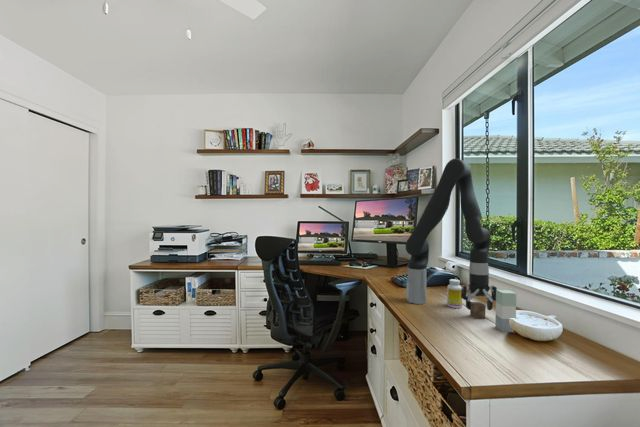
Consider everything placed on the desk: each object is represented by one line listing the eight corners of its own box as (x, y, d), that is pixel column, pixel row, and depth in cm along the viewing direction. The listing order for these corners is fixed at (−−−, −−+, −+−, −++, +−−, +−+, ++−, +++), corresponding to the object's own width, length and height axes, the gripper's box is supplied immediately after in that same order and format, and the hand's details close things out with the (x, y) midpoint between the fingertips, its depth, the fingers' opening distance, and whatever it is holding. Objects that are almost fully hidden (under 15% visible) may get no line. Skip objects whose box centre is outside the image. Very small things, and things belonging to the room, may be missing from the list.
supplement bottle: (463, 309, 139) (464, 282, 138) (448, 308, 140) (449, 281, 140) (459, 304, 145) (460, 279, 145) (445, 303, 146) (446, 278, 146)
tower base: (501, 331, 112) (502, 318, 112) (495, 326, 117) (495, 314, 117) (515, 332, 112) (515, 319, 112) (508, 327, 117) (508, 314, 117)
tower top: (502, 305, 112) (502, 292, 112) (495, 301, 117) (496, 289, 117) (516, 306, 112) (516, 293, 112) (509, 302, 117) (509, 290, 117)
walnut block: (474, 318, 126) (474, 304, 126) (470, 315, 130) (470, 301, 130) (485, 319, 126) (485, 305, 126) (480, 315, 130) (480, 302, 130)
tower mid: (502, 318, 112) (502, 305, 112) (495, 314, 117) (495, 301, 117) (515, 319, 112) (516, 306, 112) (508, 314, 117) (509, 302, 117)
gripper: (491, 271, 131) (491, 307, 131) (458, 270, 132) (458, 306, 132) (500, 274, 124) (500, 312, 123) (465, 273, 125) (465, 311, 125)
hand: (479, 309), depth 128 cm, fingers open, 8 cm apart
